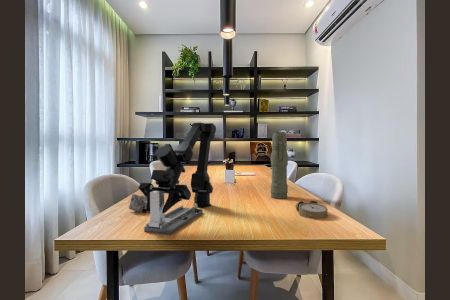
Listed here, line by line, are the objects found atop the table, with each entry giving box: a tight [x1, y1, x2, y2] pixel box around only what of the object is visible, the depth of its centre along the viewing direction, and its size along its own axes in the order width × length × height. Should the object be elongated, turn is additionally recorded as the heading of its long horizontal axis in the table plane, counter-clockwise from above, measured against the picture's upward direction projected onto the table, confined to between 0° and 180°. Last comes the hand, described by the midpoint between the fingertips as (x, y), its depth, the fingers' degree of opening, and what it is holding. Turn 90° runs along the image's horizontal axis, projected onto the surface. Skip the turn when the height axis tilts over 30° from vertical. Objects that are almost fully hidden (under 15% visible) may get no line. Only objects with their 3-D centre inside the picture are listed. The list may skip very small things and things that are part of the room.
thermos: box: [270, 131, 289, 200], centre depth 131 cm, size 9×12×35 cm
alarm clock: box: [295, 200, 330, 220], centre depth 102 cm, size 11×5×15 cm
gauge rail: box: [143, 203, 204, 236], centre depth 92 cm, size 26×10×4 cm, turn 161°
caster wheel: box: [128, 193, 147, 214], centre depth 108 cm, size 7×11×10 cm
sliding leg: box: [148, 191, 171, 228], centre depth 83 cm, size 4×7×11 cm, turn 71°
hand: (155, 212), depth 82 cm, fingers open, 6 cm apart
